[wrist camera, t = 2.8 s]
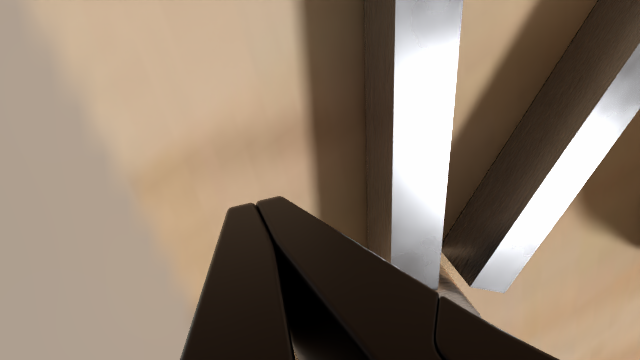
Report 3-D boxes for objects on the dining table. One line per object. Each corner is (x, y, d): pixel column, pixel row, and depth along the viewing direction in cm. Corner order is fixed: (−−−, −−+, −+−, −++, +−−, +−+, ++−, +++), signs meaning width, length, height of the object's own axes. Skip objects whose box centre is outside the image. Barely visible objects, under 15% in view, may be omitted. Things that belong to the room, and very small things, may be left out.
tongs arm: (412, 254, 26) (437, 289, 24) (368, 267, 26) (390, 304, 24) (430, -141, 17) (475, -139, 15) (362, -134, 16) (398, -131, 14)
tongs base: (418, 334, 31) (453, 391, 27) (342, 326, 28) (371, 388, 25) (682, -56, 22) (777, -40, 19) (608, -118, 20) (704, -111, 16)
